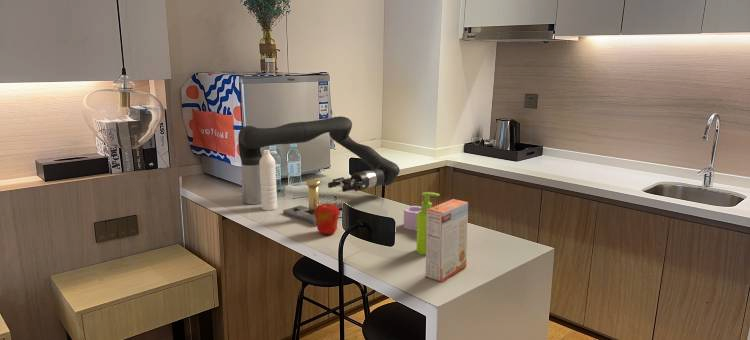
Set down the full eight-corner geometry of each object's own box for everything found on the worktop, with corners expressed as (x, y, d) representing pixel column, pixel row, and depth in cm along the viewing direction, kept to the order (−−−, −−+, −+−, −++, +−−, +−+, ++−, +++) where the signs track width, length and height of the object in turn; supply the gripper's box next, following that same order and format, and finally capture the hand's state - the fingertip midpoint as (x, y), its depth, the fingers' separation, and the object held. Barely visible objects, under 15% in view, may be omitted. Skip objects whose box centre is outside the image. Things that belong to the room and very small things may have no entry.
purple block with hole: (397, 229, 187) (397, 211, 186) (415, 220, 197) (415, 203, 196) (444, 241, 176) (445, 222, 174) (461, 231, 185) (462, 213, 184)
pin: (304, 218, 199) (303, 181, 195) (315, 215, 203) (314, 178, 199) (313, 221, 195) (312, 183, 192) (324, 218, 199) (323, 181, 196)
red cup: (310, 234, 181) (310, 203, 179) (323, 227, 189) (323, 197, 186) (331, 238, 177) (330, 206, 175) (343, 231, 185) (343, 200, 182)
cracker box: (450, 262, 157) (452, 197, 153) (466, 267, 153) (469, 201, 149) (423, 276, 147) (425, 208, 142) (441, 283, 143) (443, 212, 138)
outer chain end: (297, 218, 199) (296, 209, 198) (314, 213, 205) (314, 204, 204) (318, 226, 190) (318, 217, 189) (336, 220, 197) (336, 211, 196)
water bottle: (258, 208, 212) (255, 150, 206) (270, 205, 216) (267, 147, 211) (272, 212, 206) (269, 152, 201) (284, 208, 211) (281, 150, 206)
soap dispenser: (436, 255, 163) (438, 195, 158) (415, 253, 164) (416, 194, 159) (438, 248, 168) (440, 191, 164) (417, 247, 169) (418, 189, 165)
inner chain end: (283, 213, 205) (283, 208, 204) (300, 208, 211) (300, 204, 211) (313, 224, 192) (313, 219, 192) (331, 218, 199) (330, 213, 198)
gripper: (352, 169, 220) (323, 175, 209) (375, 174, 210) (347, 181, 199) (352, 185, 222) (324, 193, 210) (375, 191, 212) (347, 199, 201)
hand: (335, 187), depth 205 cm, fingers open, 8 cm apart
